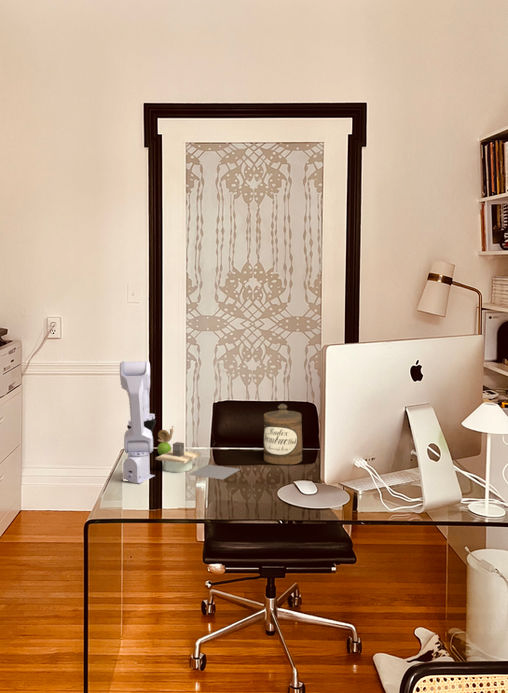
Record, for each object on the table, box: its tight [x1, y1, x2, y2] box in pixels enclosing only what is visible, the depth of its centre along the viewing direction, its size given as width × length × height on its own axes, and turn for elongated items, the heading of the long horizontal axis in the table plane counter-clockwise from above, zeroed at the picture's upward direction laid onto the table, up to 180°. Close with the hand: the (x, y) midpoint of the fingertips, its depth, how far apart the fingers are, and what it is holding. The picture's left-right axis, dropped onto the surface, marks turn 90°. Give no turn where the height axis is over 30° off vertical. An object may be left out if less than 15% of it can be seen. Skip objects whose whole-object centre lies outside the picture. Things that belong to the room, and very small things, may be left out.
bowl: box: [162, 459, 193, 473], centre depth 263 cm, size 10×10×5 cm
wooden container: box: [263, 403, 303, 466], centre depth 274 cm, size 15×15×22 cm
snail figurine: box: [157, 425, 174, 456], centre depth 282 cm, size 5×6×12 cm
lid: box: [155, 441, 202, 463], centre depth 262 cm, size 12×12×5 cm
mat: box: [188, 464, 241, 481], centre depth 258 cm, size 14×14×1 cm
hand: (142, 441), depth 267 cm, fingers open, 7 cm apart
